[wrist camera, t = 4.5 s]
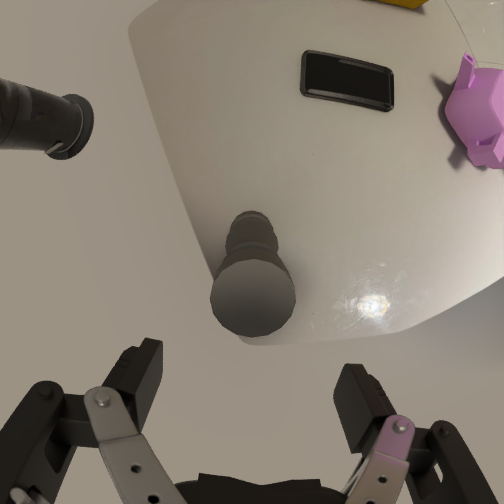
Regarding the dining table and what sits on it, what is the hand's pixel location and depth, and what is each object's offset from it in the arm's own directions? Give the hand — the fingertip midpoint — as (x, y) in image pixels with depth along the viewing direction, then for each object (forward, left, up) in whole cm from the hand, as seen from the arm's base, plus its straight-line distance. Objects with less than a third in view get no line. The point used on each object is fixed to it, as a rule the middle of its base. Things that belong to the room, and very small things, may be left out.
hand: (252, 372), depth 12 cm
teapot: (+37, +28, -33) cm, 57 cm away
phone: (+11, +26, -33) cm, 43 cm away
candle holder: (0, 0, -33) cm, 33 cm away
